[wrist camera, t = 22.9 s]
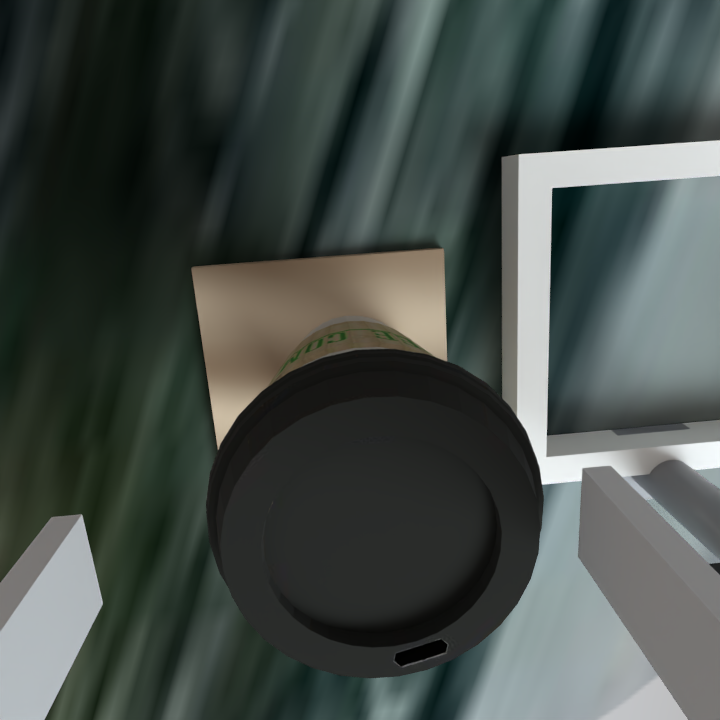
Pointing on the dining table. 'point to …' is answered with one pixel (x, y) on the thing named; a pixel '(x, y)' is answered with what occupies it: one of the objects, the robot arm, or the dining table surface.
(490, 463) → the coffee cup
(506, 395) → the white square frame
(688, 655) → the robot arm
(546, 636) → the dining table surface
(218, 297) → the cork pad
